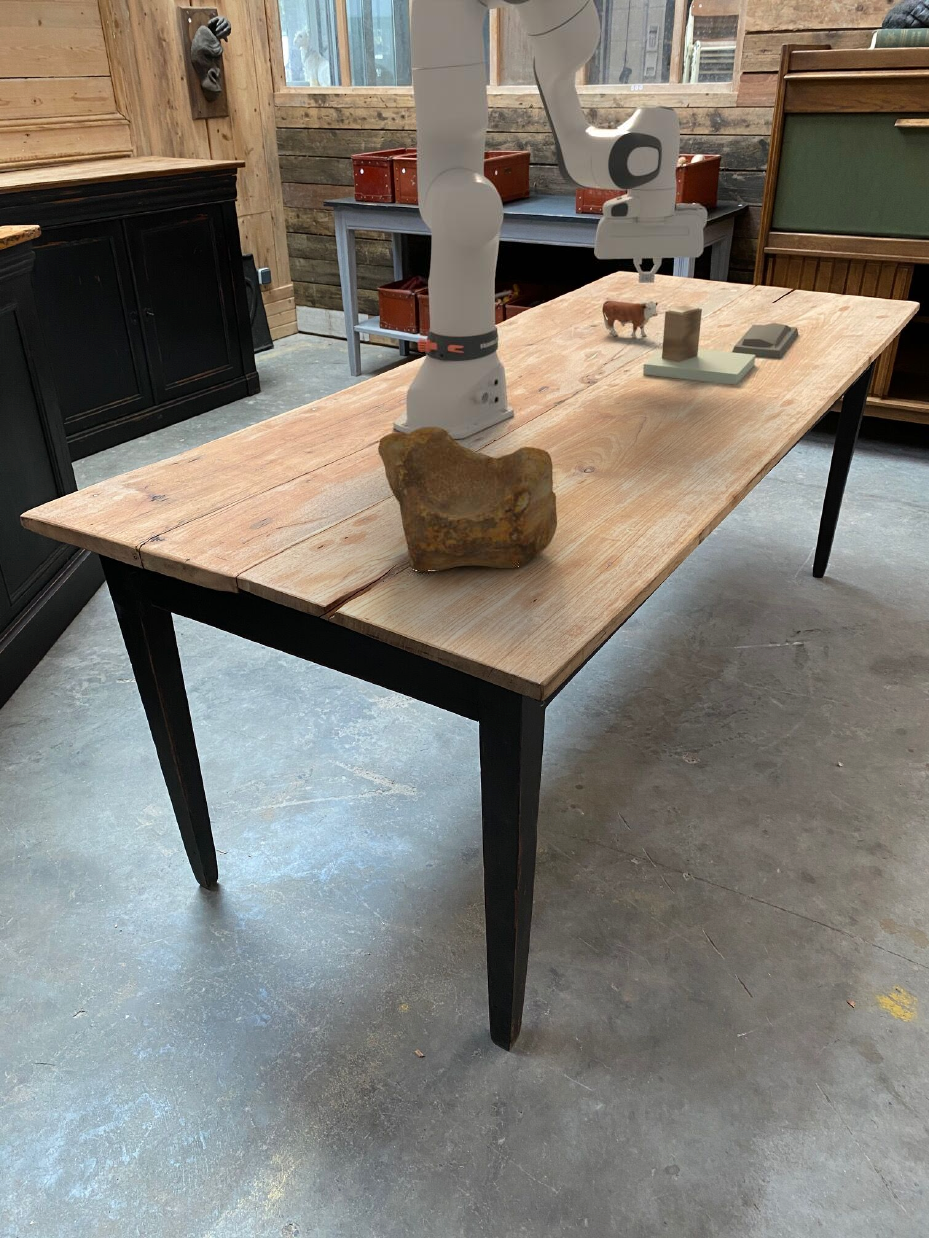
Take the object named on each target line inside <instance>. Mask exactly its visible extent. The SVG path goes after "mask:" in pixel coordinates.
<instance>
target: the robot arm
mask: <svg viewBox="0 0 929 1238" xmlns="http://www.w3.org/2000/svg"><path fill="white" fill-rule="evenodd" d="M511 5H513V6H514V7H515V8H516V10H517V12H518V15H519V18H520V20H521V22H522V25H523V27H524V30H525V32H526V35H527V37H528V40H529V42H530V45H531V48H532V52H533V55H534V56H533V60H532V62H533V64H532V66H533V67H532V69H533V74H534V75H533V76H534V78H535V84H536V87H537V91H538V92H539V97H540V100H541V102H542V105H543V108H544V112H545V114H546V118H547V121H548V124H549V126H550V131H551V134H552V137H553V140H554V147H555V154H556V161H557V162H556V163H557V167H558V170H559V174H560V176H561V178H562V179H563V181H564V182H565V183H566V184H567V185H568V186H569V187H571V188H574V189H601V190H611V191H612V190H613V191H627V193H626V194H623V195H621V196H617V197H615V198H612V199H609V200H606V201H605V202H604V203H603V206H602V214H603V216H602V217H601V218H600V219H599V221H598V224H597V228H596V234H595V240H594V251H593V252H594V256H595V257H596V258H597V259H599V260H614V259H615V260H616V259H617V260H620V259H621V260H622V259H633V264H634V267H635V268H636V271H637V273H638V276H637V277H638V278H637V279H638V283H639V284H643V283H644V284H645V283H647V284H648V283H649V284H650V283H651V284H653V283H655V274H656V273H657V272H658V270H659V268H660V267H661V265H662V260H663V259H665V258H667V259H668V258H669V259H671V258H675V259H676V258H678V259H679V258H699V257H700V256H701V255H702V254H703V252H704V228H705V227H706V225H707V221H708V211H707V208H706V207H705V206H703V205H701V203H697V202H696V203H694V202H693V203H677V202H676V200H677V199H676V198H677V187H678V186H677V184H678V183H677V178H676V172H677V171H676V170H677V166H678V164H679V159H680V158H679V157H680V145H681V143H680V142H681V138H680V137H681V131H680V129H681V128H680V127H681V126H680V119H679V115H678V112H677V111H676V110H675V109H674V108H672V107H670V106H665V105H655V104H641V105H638V106H637V107H636V108H635V110H634V113H633V114H632V115H631V116H630V118H629V119H627V120H626V121H624V123H622V124H620V125H619V126H617V127H616V128H598V127H596V126H594V125H592V124H591V123H589V122H588V121H587V120H586V117H585V115H584V112H583V108H582V105H581V101H580V98H579V96H578V91H577V88H576V85H575V74H576V73H577V72H579V70H580V69H582V68H583V67H584V66H585V65H586V64H587V63H588V62H589V61H590V60H591V58H592V57H593V55H594V54H595V52H596V50H597V48H598V45H599V42H600V37H601V33H602V31H601V30H602V29H601V23H600V18H599V13H598V10H597V8H596V4H595V3H594V0H412V1H411V13H410V31H409V33H410V35H409V36H410V39H409V40H410V41H409V42H410V44H409V45H410V62H411V63H410V64H411V69H412V70H411V74H412V75H411V77H412V84H413V85H412V87H413V96H414V97H413V98H414V109H415V119H416V174H417V175H416V179H417V180H416V182H417V184H416V185H417V201H418V202H417V203H418V210H419V213H420V217H421V219H422V220H423V222H424V224H425V225H426V226H427V227H428V229H430V232H431V234H430V235H431V249H430V250H431V251H430V253H431V254H430V269H429V276H428V281H427V283H428V284H427V285H428V286H427V287H428V302H429V303H428V305H429V325H430V326H429V329H428V333H427V337H426V339H422V338H420V339H419V340H418V342H417V350H418V352H421V353H422V352H425V355H426V356H425V357H424V360H423V362H422V364H421V365H420V367H419V369H418V371H417V373H416V374H415V376H414V379H413V380H412V382H411V384H410V386H409V387H408V389H407V392H406V410H405V411H403V413H402V414H401V415H400V416H398V418H396V419H395V420H394V421H393V429H394V430H396V431H399V432H400V433H401V432H405V433H407V434H409V433H411V432H412V431H414V430H416V429H420V428H422V427H438V428H442V429H444V430H446V431H447V432H448V434H449V435H450V436H451V437H452V438H453V439H454V440H457V439H461V440H462V439H466V438H468V437H469V436H472V435H475V434H476V433H478V432H481V431H483V430H485V429H487V428H489V427H491V426H494V425H496V424H498V423H500V422H502V421H505V420H506V419H509V418H511V417H513V416H514V415H515V411H514V408H513V407H512V406H510V405H509V404H508V393H507V392H508V391H507V380H506V372H505V371H506V370H505V366H504V364H503V363H502V362H501V360H500V358H499V356H498V353H497V351H498V349H499V334H498V327H497V326H496V318H495V317H496V316H495V315H496V309H495V308H496V307H495V306H496V301H495V300H496V299H495V295H496V294H495V278H496V268H497V261H498V254H499V245H500V237H501V228H502V225H503V222H504V206H503V202H502V199H501V195H500V193H499V192H498V190H497V188H496V187H495V185H494V184H493V183H492V182H491V181H490V180H489V179H488V178H487V177H486V176H485V174H484V171H485V170H484V169H485V168H484V167H485V165H484V164H485V152H486V151H485V148H486V136H487V132H488V131H487V130H488V126H489V106H488V105H489V104H488V89H487V88H488V87H487V72H486V57H485V56H486V55H485V46H484V45H485V44H484V37H483V36H484V35H483V26H484V23H485V18H486V15H487V12H488V10H495V9H500V8H505V7H508V6H511ZM643 259H652V262H653V264H654V265H653V267H652V268H651V270H650V271H643V270H642V269H641V266H640V265H642V263H643Z"/></svg>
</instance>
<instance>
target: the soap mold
mask: <svg viewBox="0 0 929 1238" xmlns="http://www.w3.org/2000/svg"><path fill="white" fill-rule="evenodd" d="M798 336H799V329H798V327H797V326H796V327H793V326H789V325H787V324H782V323H777V322H776V323H775V322H771V323H767V324H764V325H763V324H752V325H751V327H749V329H748V330H747V331H746V332H745V333H744V335H742V337H741V338H740V339H739V340H738V341H737V343H735V344H734V346H733V347H732V348H733V349H732V351H731V352H732V353H742V354H752V355H756V356H755V357H762V358H773V359H781V358H782V356H783V355H784V354H785V353H786V352H787V350H788V349H789V347H790V346H791V345H792V344H793V342H794V341H795V339H796V338H798Z"/></svg>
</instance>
